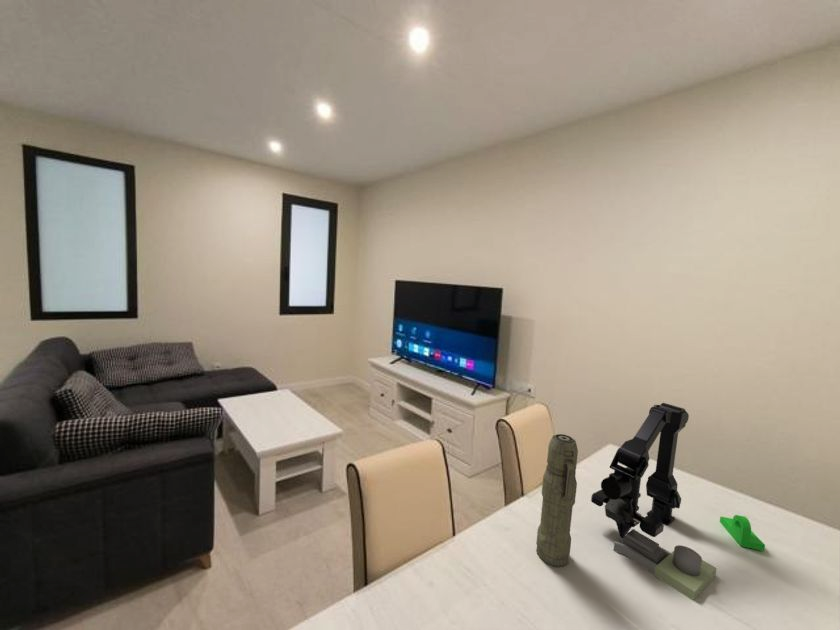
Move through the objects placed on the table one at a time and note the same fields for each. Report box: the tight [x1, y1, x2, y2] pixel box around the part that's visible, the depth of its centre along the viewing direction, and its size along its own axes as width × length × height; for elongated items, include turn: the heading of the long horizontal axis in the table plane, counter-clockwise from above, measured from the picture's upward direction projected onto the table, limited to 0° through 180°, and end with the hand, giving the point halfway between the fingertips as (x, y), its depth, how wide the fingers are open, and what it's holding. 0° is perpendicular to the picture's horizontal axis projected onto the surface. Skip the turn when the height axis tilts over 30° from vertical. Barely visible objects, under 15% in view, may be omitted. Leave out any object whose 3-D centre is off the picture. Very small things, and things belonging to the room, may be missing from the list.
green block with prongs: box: [612, 528, 717, 601], centre depth 101 cm, size 16×20×6 cm
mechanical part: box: [719, 514, 766, 552], centre depth 115 cm, size 12×6×8 cm, turn 164°
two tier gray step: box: [622, 528, 666, 565], centre depth 102 cm, size 5×9×5 cm, turn 34°
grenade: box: [535, 433, 579, 569], centre depth 99 cm, size 9×12×35 cm
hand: (622, 537), depth 108 cm, fingers closed
